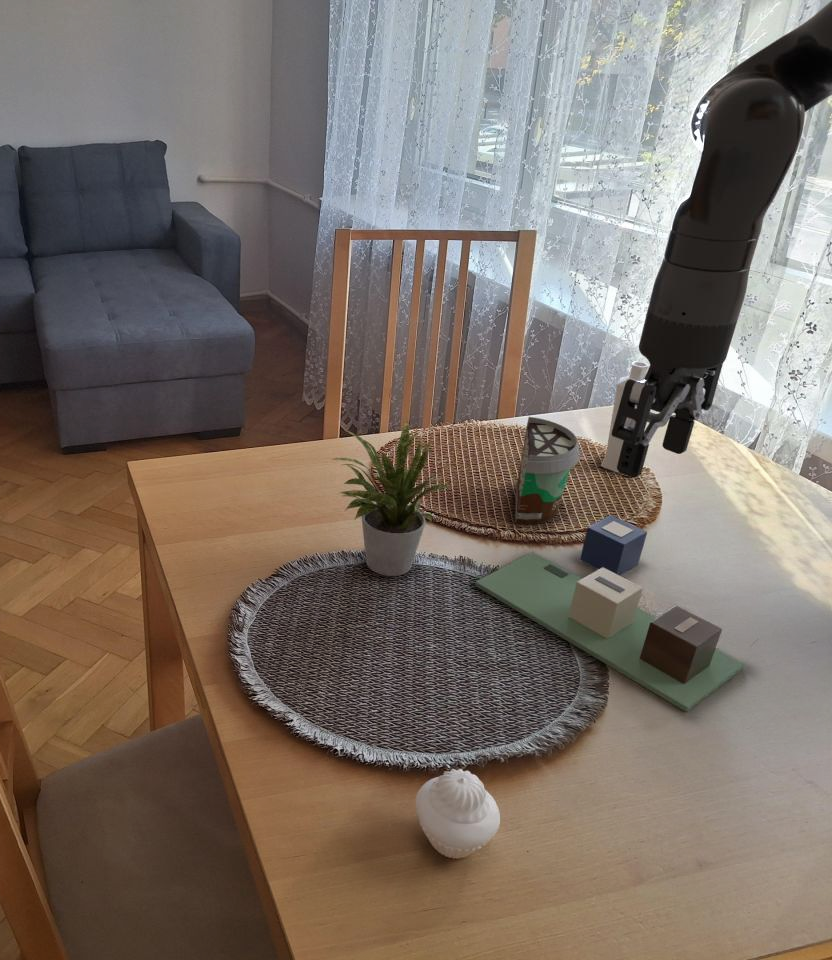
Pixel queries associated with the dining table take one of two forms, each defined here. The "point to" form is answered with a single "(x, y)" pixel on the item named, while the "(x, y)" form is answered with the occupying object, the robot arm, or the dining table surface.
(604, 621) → the cream block
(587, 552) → the navy block
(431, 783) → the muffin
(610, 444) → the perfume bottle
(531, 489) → the food container
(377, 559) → the house plant
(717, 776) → the dining table surface
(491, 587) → the green board
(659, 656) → the walnut block
